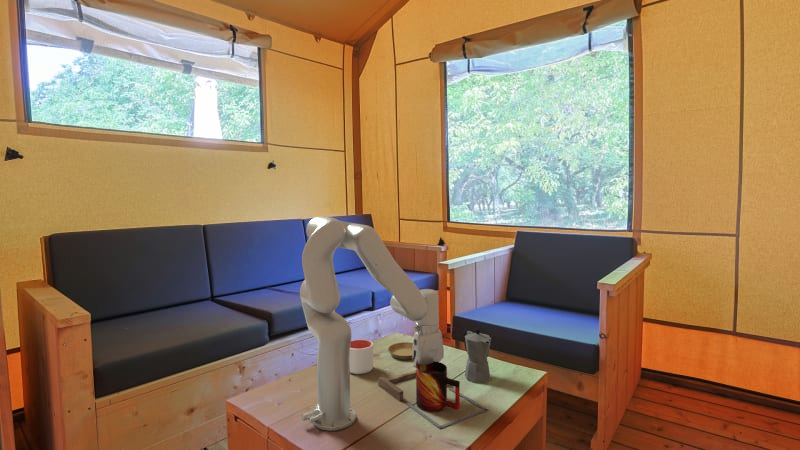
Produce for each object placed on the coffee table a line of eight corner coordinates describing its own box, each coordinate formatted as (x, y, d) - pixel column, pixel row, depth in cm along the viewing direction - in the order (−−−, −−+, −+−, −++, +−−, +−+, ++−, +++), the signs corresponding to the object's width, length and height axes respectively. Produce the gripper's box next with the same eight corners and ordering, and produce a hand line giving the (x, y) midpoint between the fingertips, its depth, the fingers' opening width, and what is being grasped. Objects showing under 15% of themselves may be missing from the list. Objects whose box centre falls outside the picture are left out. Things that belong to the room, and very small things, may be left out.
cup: (378, 368, 163) (378, 342, 162) (362, 377, 155) (362, 351, 154) (357, 362, 169) (357, 337, 168) (341, 371, 160) (340, 345, 159)
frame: (439, 429, 121) (439, 428, 121) (405, 404, 135) (405, 403, 135) (487, 410, 131) (487, 409, 131) (451, 388, 146) (451, 387, 146)
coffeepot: (499, 382, 150) (500, 332, 149) (477, 387, 146) (478, 336, 145) (473, 366, 164) (474, 320, 163) (453, 371, 160) (453, 324, 159)
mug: (459, 414, 129) (459, 376, 128) (414, 410, 131) (414, 372, 130) (460, 398, 139) (460, 363, 138) (418, 395, 141) (418, 360, 140)
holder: (399, 401, 137) (399, 392, 137) (378, 385, 148) (378, 377, 148) (447, 385, 148) (447, 377, 148) (424, 371, 159) (424, 364, 159)
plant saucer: (430, 356, 175) (430, 349, 175) (402, 364, 167) (402, 358, 166) (408, 345, 187) (408, 339, 187) (380, 353, 178) (380, 347, 178)
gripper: (415, 335, 133) (416, 392, 134) (452, 326, 141) (452, 379, 143) (401, 329, 139) (402, 383, 141) (437, 320, 147) (438, 371, 149)
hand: (427, 381), depth 142 cm, fingers closed
